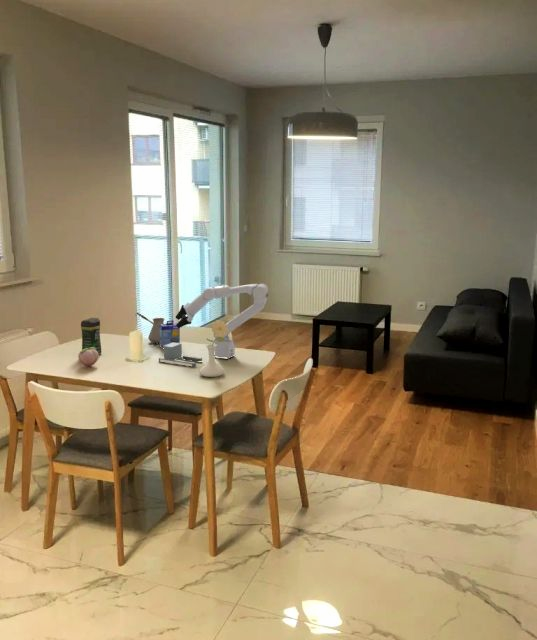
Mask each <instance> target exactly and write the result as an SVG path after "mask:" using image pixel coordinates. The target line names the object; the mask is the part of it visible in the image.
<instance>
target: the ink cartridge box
mask: <svg viewBox="0 0 537 640" xmlns="http://www.w3.org/2000/svg"><path fill="white" fill-rule="evenodd" d="M177 323H178V322H174V320H167V321H166V323H164V324H160V344H159V347H160V348H161V349H162V348H164V347H163V346H165V345H167V344H170V343H173V342H174V343H181V341H180V340H181V336H180V335H181V334H180V333H181V332H180V331H181V330H180V328H178V327H177V326H176V324H177Z"/></svg>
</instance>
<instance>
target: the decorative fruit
mask: <svg viewBox="0 0 537 640" xmlns="http://www.w3.org/2000/svg"><path fill="white" fill-rule="evenodd" d="M95 349H97V348H95V347H90V348H86V349H83V350H82V349H81V350H80V351H79V352H78V354H77V355H78V356H77V357H78V361H79V362H80V364H81V365H83V366H85V367H87V368H91V367H92V366H93V365H95V364H96V363H97V362H98V360H99V357H100V354H98V352H97V351H96V350H95Z"/></svg>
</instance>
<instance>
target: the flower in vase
mask: <svg viewBox="0 0 537 640" xmlns="http://www.w3.org/2000/svg"><path fill="white" fill-rule="evenodd" d="M211 329H212V330H211V332H212V333H213V335H214V334H215V336H216V338H215V337H214V340H212V339H209V338H206V340H207V341H208V342H210V343H207V344H205V347H206V348H207V351H208V361H207V362H206V364H204V365H203V366H201V368H199V370H198V373H199V375H201V376H202V377H203V376H204V377H206V378H207V377H209V378H210V377H211V378H212V377H213V378H215V377H219V376H222V375H224V374H225V369H224V368H223V366H221V365H220V364H219V363H217V361H215V358H214V355H215V348H216V346H217V345H216V344H215V340H216V339H217V340H218V341H219V342H222V341H224V340H225V339H224V338H223V337H224V336H225V335H226V334H227V331H228V330H227V329H228V327H227V326H226V323H225V322H224V321H222V320H218V319H217V320H215V322H213V323H212V325H211ZM217 336H218V337H217Z"/></svg>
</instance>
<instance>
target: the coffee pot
mask: <svg viewBox="0 0 537 640" xmlns="http://www.w3.org/2000/svg"><path fill="white" fill-rule="evenodd" d="M134 316H135V317H136V316H138V317H141V318H142V319H144V320H145V321H147V322H149V323H150V324H152V327H151V329H150V331H149V335H148V340H149V342H150V343H152V342H153V343H160V324H165V323H164V322H165V319H166V318H164V317H155V318H152V320H150V319H149V318H148V317H146V316H144V315H142V313H140V312H136V313H135V314H134ZM153 343H152V344H153Z"/></svg>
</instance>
